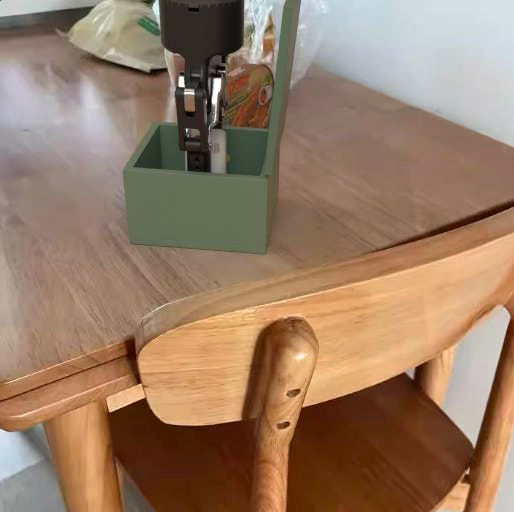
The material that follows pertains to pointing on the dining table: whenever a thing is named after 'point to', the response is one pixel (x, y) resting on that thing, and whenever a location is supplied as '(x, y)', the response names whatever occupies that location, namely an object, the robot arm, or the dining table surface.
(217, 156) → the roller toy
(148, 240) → the chest
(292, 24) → the lid
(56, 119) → the dining table surface
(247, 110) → the tin
